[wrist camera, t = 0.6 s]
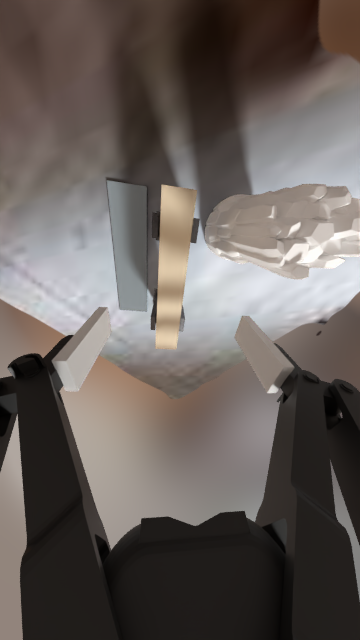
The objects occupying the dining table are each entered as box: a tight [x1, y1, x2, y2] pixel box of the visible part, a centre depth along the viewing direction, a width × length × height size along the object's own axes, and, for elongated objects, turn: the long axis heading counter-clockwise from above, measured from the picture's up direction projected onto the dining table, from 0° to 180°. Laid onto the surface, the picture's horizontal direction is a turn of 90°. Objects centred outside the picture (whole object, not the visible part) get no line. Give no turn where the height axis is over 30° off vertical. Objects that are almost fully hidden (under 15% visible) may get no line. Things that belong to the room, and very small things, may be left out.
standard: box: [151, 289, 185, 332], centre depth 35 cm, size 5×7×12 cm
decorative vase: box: [205, 184, 360, 280], centre depth 22 cm, size 11×11×25 cm
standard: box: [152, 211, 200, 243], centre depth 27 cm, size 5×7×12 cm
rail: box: [155, 185, 197, 349], centre depth 25 cm, size 24×4×5 cm, turn 174°
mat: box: [107, 180, 147, 312], centre depth 34 cm, size 26×7×1 cm, turn 174°
